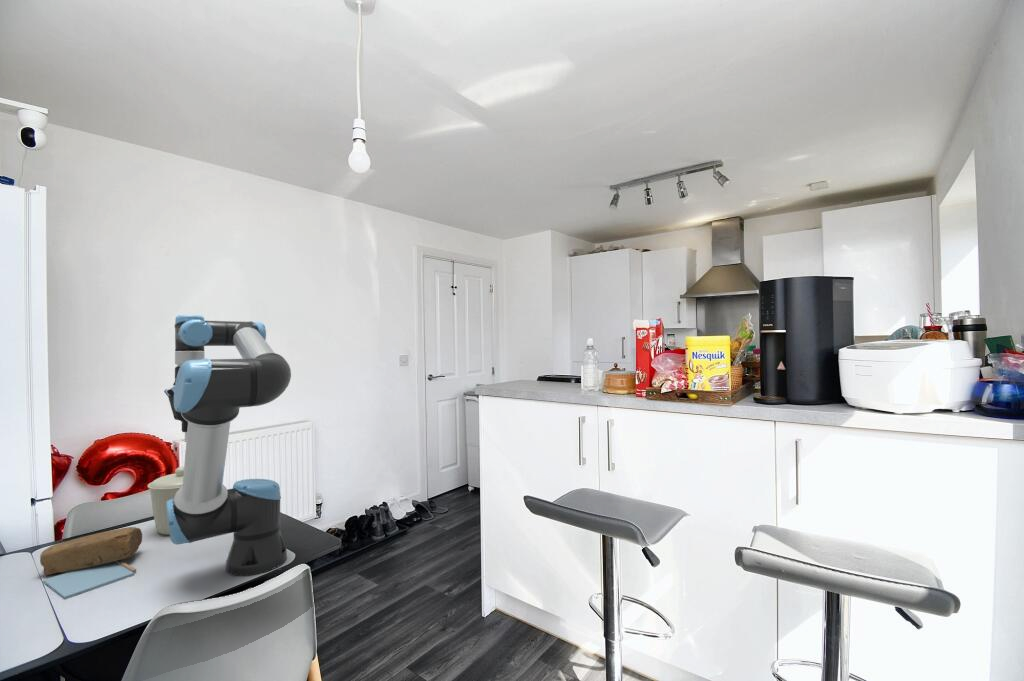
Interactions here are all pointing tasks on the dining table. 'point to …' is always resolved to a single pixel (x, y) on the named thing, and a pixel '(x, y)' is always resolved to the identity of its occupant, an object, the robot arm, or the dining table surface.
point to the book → (89, 578)
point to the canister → (164, 497)
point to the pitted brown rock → (91, 550)
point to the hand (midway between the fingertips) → (189, 442)
